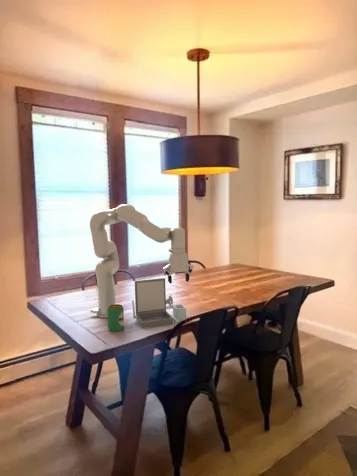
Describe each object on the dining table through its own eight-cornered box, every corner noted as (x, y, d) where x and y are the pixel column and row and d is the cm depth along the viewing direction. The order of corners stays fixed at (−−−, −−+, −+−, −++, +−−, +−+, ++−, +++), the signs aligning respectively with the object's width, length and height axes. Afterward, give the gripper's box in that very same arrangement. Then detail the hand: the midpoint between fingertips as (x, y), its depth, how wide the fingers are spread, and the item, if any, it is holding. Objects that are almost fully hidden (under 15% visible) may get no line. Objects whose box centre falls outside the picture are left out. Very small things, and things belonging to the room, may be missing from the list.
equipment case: (138, 328, 183) (136, 287, 180) (132, 319, 197) (130, 281, 195) (173, 323, 189) (172, 283, 186) (165, 315, 203) (164, 278, 201)
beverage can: (119, 332, 178) (118, 309, 177) (105, 331, 181) (104, 307, 180) (127, 327, 185) (126, 304, 184) (113, 325, 188) (112, 303, 187)
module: (177, 320, 193) (177, 308, 193) (173, 315, 201) (172, 304, 200) (186, 318, 195) (186, 307, 194) (181, 314, 203) (181, 303, 202)
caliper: (171, 304, 225) (171, 294, 224) (172, 304, 224) (172, 295, 224) (147, 312, 210) (147, 302, 209) (149, 313, 209) (148, 302, 209)
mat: (176, 322, 191) (176, 321, 191) (169, 315, 203) (169, 314, 203) (190, 320, 193) (190, 319, 193) (182, 313, 205) (182, 313, 205)
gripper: (164, 252, 188) (165, 285, 190) (195, 250, 193) (196, 282, 195) (160, 251, 195) (161, 282, 197) (190, 249, 201) (191, 279, 202)
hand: (178, 282), depth 196 cm, fingers open, 9 cm apart
